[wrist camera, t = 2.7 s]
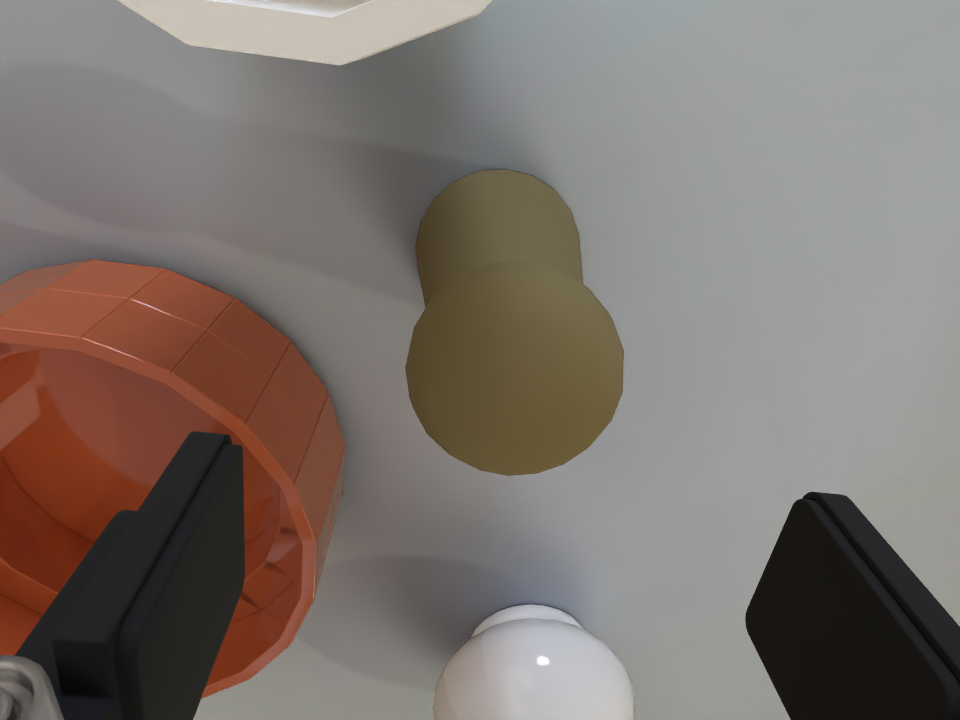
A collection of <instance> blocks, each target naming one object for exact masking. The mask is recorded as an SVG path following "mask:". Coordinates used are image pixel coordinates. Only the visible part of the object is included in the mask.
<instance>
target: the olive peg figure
mask: <svg viewBox="0 0 960 720" xmlns="http://www.w3.org/2000/svg"><path fill="white" fill-rule="evenodd" d="M416 255H417V263H418V271H419V276H420V281H421V286H422V291H423V296H424V302H425V307H426V309H425V310H424V312H423V314H422V315H421V317H420V318H419V320H418V322H417V323H416V325H415V326H414V330H413V335H412V339H411V344H410V349H409V353H408V358H407V362H406V367H405V369H406V376H407V383H408V390H409V397H410V400H411V403H412V406H413V409H414V410H415V412H416V414H417V416H418V418H419V420H420V422H421V424H422V425H423V427H424V429H425V431H426V433H427V434H428V435H429V436H430V437H431V438H432V439H433V440H434V441H435V442H436V443H437V444H438V445H439V446H441V447H442V448H443V449H444V450H445V451H446V452H447V453H448V454H449V455H451V456H453V457H455V458H457V459H459V460H461V461H463V462H465V463H467V464H469V465H471V466H473V467H475V468H477V469H479V470H482V471H487V472H492V473H498V474H503V475H522V474H536V473H540V472H543V471H546V470H548V469H551V468H554V467H557V466H560V465H563V464H565V463H567V462H568V461H570V460H571V459H572V458H574V457H575V456H577V455H578V454H580V453H581V452H583V451H584V450H586V449H587V448H588V447H589V446H590V445H591V444H592V443H593V442H594V441H595V440H596V438H597V437H598V436H599V435H600V434H601V432H602V431H603V430H604V429H605V428H606V426H607V425H608V424H609V423H610V421H611V420H612V418H613V415H614V413H615V410H616V408H617V405H618V402H619V400H620V397H621V395H622V390H623V361H624V350H623V347H622V345H621V342H620V339H619V336H618V333H617V330H616V327H615V324H614V322H613V320H612V318H611V316H610V314H609V312H608V311H607V310H606V309H605V307H604V306H603V305H602V304H601V303H600V301H599V300H598V299H597V298H596V297H595V295H594V294H593V293H592V292H591V290H590V289H589V288H588V287H586V286H585V285H583V274H582V263H581V251H580V239H579V232H578V230H577V227H576V224H575V221H574V218H573V215H572V212H571V210H570V209H569V207H568V206H567V205H566V203H565V202H564V201H563V200H562V198H561V197H560V196H559V195H558V193H557V192H556V191H555V190H554V189H553V188H551V187H550V186H548V185H546V184H545V183H543V182H542V181H540V180H539V179H537V178H536V177H534V176H532V175H528V174H524V173H520V172H516V171H512V170H508V169H500V170H487V171H478V172H476V173H473V174H471V175H469V176H466V177H464V178H462V179H459V180H457V181H455V182H453V183H452V184H451V185H450V186H449V187H447V188H446V189H445V190H444V191H443V192H442V193H441V194H439V195H438V196H437V197H436V198H435V199H434V200H433V202H432V203H431V205H430V207H429V209H428V210H427V212H426V214H425V215H424V217H423V219H422V221H421V223H420V228H419V232H418V237H417V242H416Z"/></svg>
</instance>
